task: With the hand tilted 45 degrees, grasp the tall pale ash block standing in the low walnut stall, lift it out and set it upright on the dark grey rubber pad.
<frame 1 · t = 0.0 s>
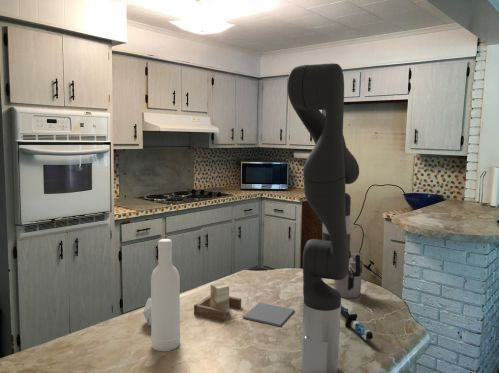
hand: (334, 286, 116), 17 cm above the countertop, tool pointing down, fingers open, 8 cm apart
stall: (219, 310, 140), on the countertop
pad: (269, 314, 138), on the countertop
knife: (345, 321, 133), on the countertop
ash block: (219, 298, 140), in the stall
die: (156, 323, 130), on the countertop
bottle: (165, 345, 117), on the countertop
pillar candle: (347, 294, 158), on the countertop
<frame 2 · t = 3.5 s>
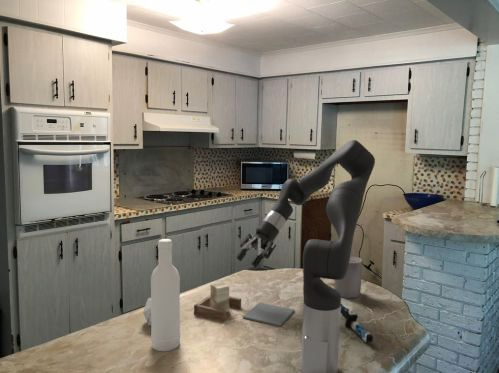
hand: (245, 262, 145), 15 cm above the countertop, tool tilted 45°, fingers open, 8 cm apart
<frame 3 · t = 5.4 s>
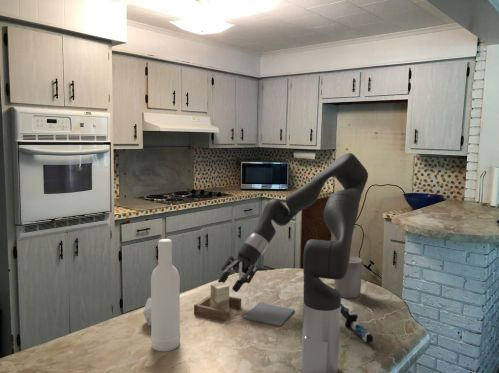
hand: (226, 287, 141), 8 cm above the countertop, tool tilted 45°, fingers open, 8 cm apart
nothing on the countertop moved.
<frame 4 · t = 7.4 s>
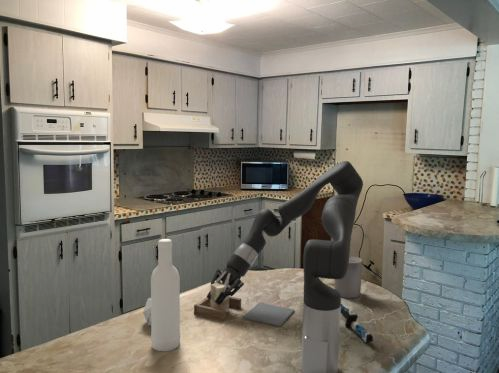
hand: (212, 300, 138), 4 cm above the countertop, tool tilted 45°, fingers closed on ash block, 4 cm apart
ash block: (219, 298, 140), in the stall, touching gripper
everything else where it was.
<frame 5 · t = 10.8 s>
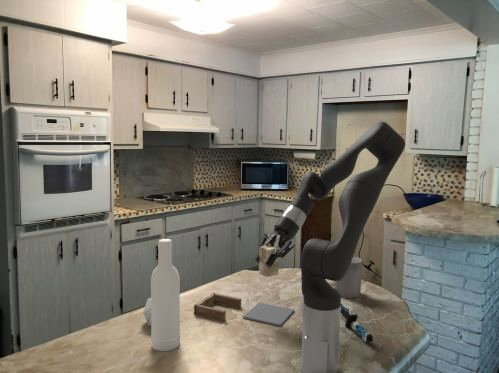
hand: (262, 263, 134), 18 cm above the countertop, tool tilted 45°, fingers closed on ash block, 4 cm apart
ash block: (268, 260, 136), point 18 cm above the countertop, touching gripper
everything else where it was.
when the fingers open (6 cm above the countertop, at t = 14.2 s): ash block drops 1 cm, resting on pad.
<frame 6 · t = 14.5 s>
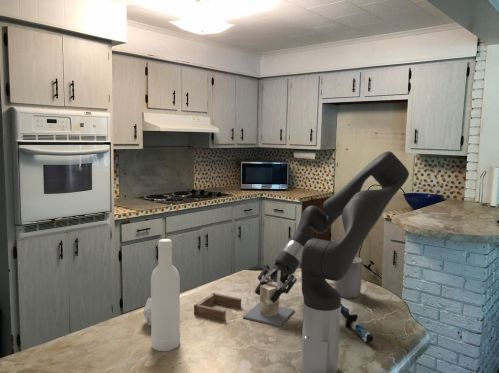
hand: (264, 297, 136), 6 cm above the countertop, tool tilted 45°, fingers open, 7 cm apart
ash block: (269, 299, 137), on the pad, point 5 cm above the countertop
everything else where it was.
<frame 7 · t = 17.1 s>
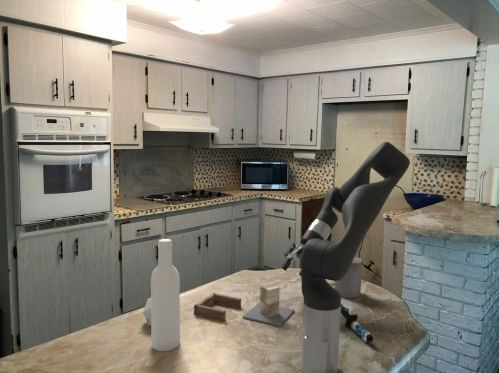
hand: (291, 272, 142), 13 cm above the countertop, tool tilted 45°, fingers open, 8 cm apart
nothing on the countertop moved.
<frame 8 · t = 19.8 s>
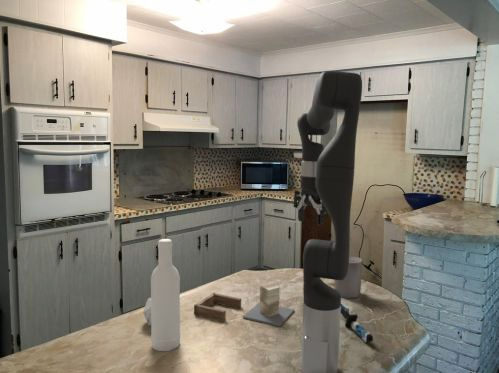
hand: (310, 223, 139), 30 cm above the countertop, tool pointing down, fingers open, 8 cm apart
nothing on the countertop moved.
at the end: ash block inside the target area on the pad (0.1 cm from its centre), point 5.1 cm above the pad's base; ash block tilted 0°; the gripper is holding nothing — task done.
